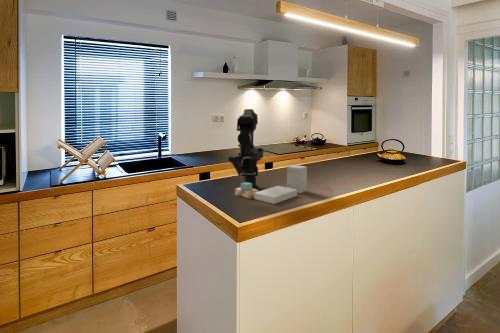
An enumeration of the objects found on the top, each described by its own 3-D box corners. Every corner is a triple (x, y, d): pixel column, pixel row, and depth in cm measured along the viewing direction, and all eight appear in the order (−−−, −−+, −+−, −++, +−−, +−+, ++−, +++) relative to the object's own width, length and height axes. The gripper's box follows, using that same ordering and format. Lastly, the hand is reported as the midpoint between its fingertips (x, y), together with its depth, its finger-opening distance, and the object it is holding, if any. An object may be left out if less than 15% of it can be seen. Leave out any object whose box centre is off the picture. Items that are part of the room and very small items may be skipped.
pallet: (235, 195, 158) (235, 188, 157) (243, 193, 162) (243, 186, 162) (249, 199, 151) (249, 192, 151) (258, 196, 156) (258, 189, 155)
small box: (306, 191, 163) (307, 166, 161) (299, 193, 159) (300, 168, 156) (293, 188, 169) (294, 164, 166) (286, 191, 164) (286, 166, 162)
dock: (253, 198, 151) (253, 192, 150) (277, 191, 164) (277, 185, 163) (273, 203, 143) (274, 197, 142) (296, 195, 155) (297, 189, 155)
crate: (240, 189, 156) (240, 183, 155) (246, 187, 159) (246, 182, 158) (246, 190, 153) (246, 184, 153) (252, 189, 156) (252, 183, 156)
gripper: (244, 145, 140) (245, 180, 143) (271, 141, 153) (271, 173, 156) (227, 143, 147) (228, 176, 150) (254, 140, 161) (254, 170, 164)
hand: (246, 174), depth 155 cm, fingers open, 9 cm apart
